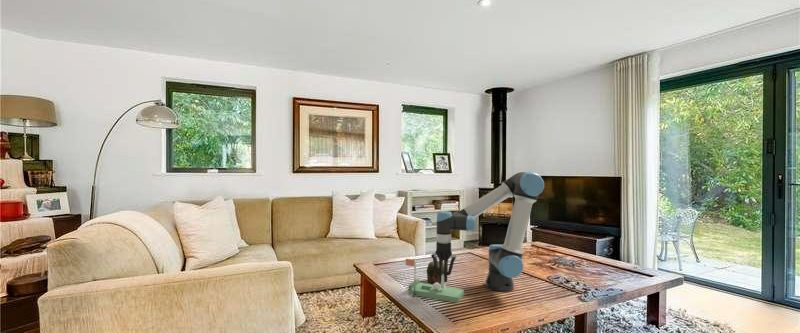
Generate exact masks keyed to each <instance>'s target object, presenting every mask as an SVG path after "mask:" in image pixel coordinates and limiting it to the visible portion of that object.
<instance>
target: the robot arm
mask: <svg viewBox="0 0 800 333" xmlns="http://www.w3.org/2000/svg"><path fill="white" fill-rule="evenodd" d="M544 189H545V182H544V179H543V178H542V176H541V175H540V174H538V173H536V172H533V171H525V172H523V171H521V172H517V173H515V174H513V175H511V176H510V177H508V178H507V179H506V180H504V181H503V182H501V185H500V186H498V187H496V188H495V189H493V190H491V191H489V192H488V193H486V194H485V195H483V196H481V197H480V198H478V199H476V200H475V201H474V202H471V203H470V204H468V205H466V206H465V207H463V208H462V209H460V210H458V211H455V212H453V213H452V212H451V211H445V210H442V211H438V212H437V213H436V244H435V246H436V247H435V249H436V250H435V252H434V253H432V254H431V255H430V256H431V259H432V260H433V261H434V266H435V271H436V273H437V274H439V281H441V283H440V286H441V289H444V288H445V287H446V283H447V282H448V276H451V274H452V271H453V267H454V263H455V260H456V259H457V256H456V255H453V252H452V243H451V242H452V231H463V232H464V231H467V232H468V231H474V230H475V228H476V219H475V218H477V217H478V216H481V214H483V213H485V212H486V211H488V210H490V209H492V208H493V207H495V206H497V205H499V204H500V203H501V202H503V201H505V200H507V199H508V198H513V197H514V198H515V199H514V204H513V208H512V210H511V211H512V212H511V215H510V220H509V222H508V226H507V230H506V233H505V234H506V235H505V238H504V243H503V244H495V243H494V244H490V245H489V246H488V273H487V276H486V277H485V284H484V285H485V287H486V288H487V289H489V290H493V291H495V292H496V291H497V292H511V291H513V290H514V289H515V284H514V280H513V278H514V279H515V278H516V277H517V278H518V277H519V276H520V275H521V274H522V273H523V271H524V263H523V256H524V252H523V250H522V247H523V243H524V239H525V235H526V231H527V227H528V223H529V220H530V216H531V212H532V207H533V204H534V203H536V202H537V201H538V198H539V195H541V194H542V193H543V191H544ZM449 259H451V260H450V262H449ZM437 261H439V267H438V262H437ZM443 263H444V274H443ZM448 264H449V265H448ZM442 274H443V275H442Z"/></svg>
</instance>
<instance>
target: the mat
mask: <svg viewBox="0 0 800 333" xmlns="http://www.w3.org/2000/svg"><path fill="white" fill-rule="evenodd" d="M413 294H414V281H413V282H411V283H410V284H408V295H411V296H412V295H413ZM415 294H416V295H417V297H422V298H428V299H434V300H440V301H445V302H452V303H459V302H460V301H461V300H462V298H463V297H464V295H465V289H461V288H454V287H449V286H445V288H444V289H441V285H440V288H439V289H438V290H435V289H434V288H433V284H431V283H424V282H423V283H422V282H420V278H416V284H415Z"/></svg>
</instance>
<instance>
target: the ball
mask: <svg viewBox="0 0 800 333" xmlns="http://www.w3.org/2000/svg"><path fill="white" fill-rule="evenodd" d="M432 285H433V288H434V289H435V290H438V289H439V288H440V286H441V283H440V284H439V283H434V284H432Z"/></svg>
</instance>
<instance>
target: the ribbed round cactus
mask: <svg viewBox="0 0 800 333" xmlns="http://www.w3.org/2000/svg"><path fill="white" fill-rule="evenodd" d="M437 262H438V267H439V260H437ZM443 274H444V262H443ZM443 274H442V275H443ZM426 279H427V284H430V285H433V284H434V283H439V284H440V285H441V281H439V274H437V273H436V271H435V266H434V261H429V263H428V264H427V268H426Z"/></svg>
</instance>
